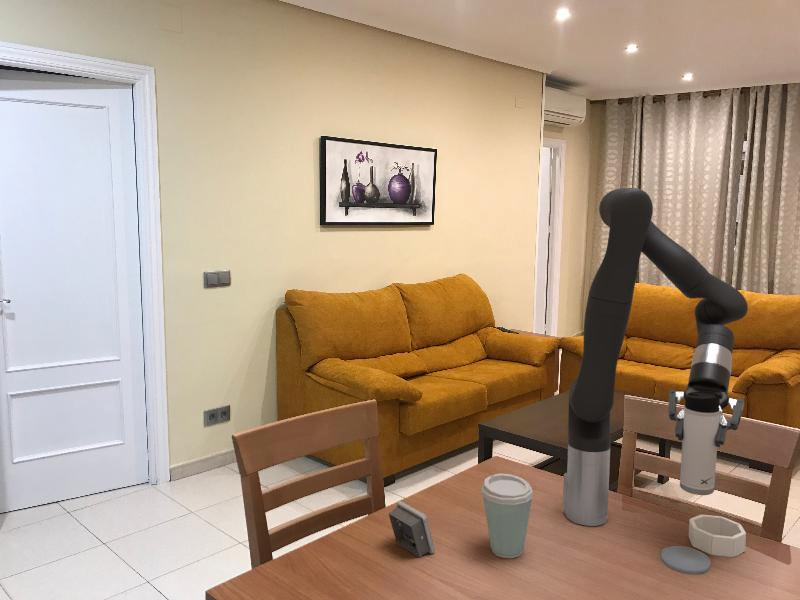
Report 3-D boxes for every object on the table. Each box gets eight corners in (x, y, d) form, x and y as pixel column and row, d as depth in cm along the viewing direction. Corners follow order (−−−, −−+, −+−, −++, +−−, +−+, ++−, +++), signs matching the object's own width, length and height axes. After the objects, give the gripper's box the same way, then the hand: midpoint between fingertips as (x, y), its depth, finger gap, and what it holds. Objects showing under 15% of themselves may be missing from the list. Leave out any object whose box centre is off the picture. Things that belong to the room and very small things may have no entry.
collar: (679, 540, 137) (680, 522, 137) (708, 528, 142) (709, 511, 142) (724, 561, 129) (725, 542, 128) (753, 547, 134) (754, 529, 133)
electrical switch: (436, 553, 132) (433, 512, 130) (416, 564, 129) (413, 522, 127) (407, 536, 139) (404, 496, 137) (389, 545, 136) (385, 505, 134)
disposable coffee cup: (543, 553, 132) (545, 484, 130) (506, 571, 125) (508, 498, 123) (505, 533, 140) (506, 468, 138) (469, 549, 133) (470, 480, 132)
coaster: (651, 557, 130) (651, 553, 130) (679, 546, 135) (679, 541, 134) (691, 579, 122) (692, 574, 122) (719, 565, 127) (719, 561, 127)
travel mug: (712, 499, 123) (719, 398, 121) (676, 490, 127) (682, 392, 124) (718, 487, 128) (725, 391, 126) (683, 480, 132) (689, 385, 129)
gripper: (672, 356, 135) (657, 426, 126) (749, 365, 127) (739, 439, 119) (675, 375, 140) (661, 444, 131) (749, 385, 132) (740, 458, 124)
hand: (698, 441), depth 125 cm, fingers closed on travel mug, 6 cm apart
